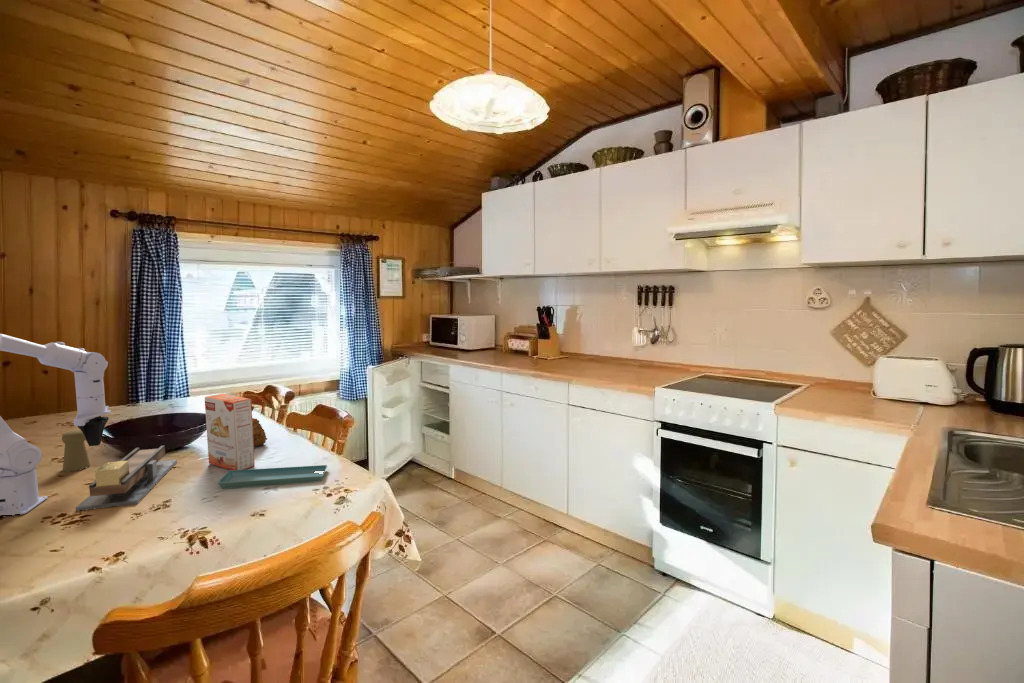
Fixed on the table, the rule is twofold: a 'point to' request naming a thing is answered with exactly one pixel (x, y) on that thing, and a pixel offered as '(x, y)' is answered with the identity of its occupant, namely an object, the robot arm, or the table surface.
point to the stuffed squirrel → (258, 433)
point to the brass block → (112, 473)
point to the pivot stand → (135, 492)
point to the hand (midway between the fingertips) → (94, 445)
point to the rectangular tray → (271, 476)
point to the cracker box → (229, 431)
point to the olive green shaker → (74, 451)
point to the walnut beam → (130, 471)
